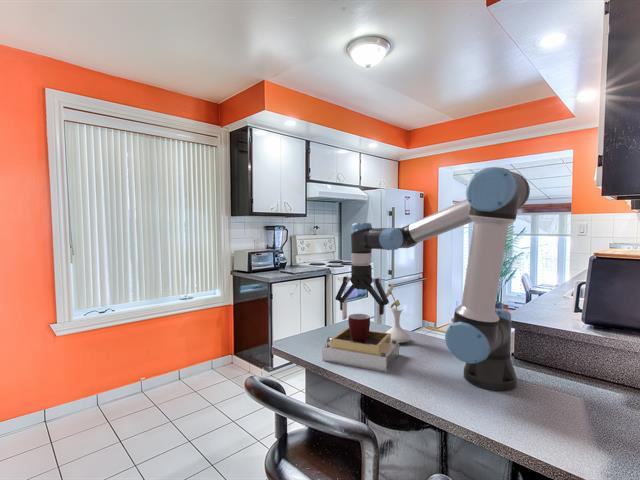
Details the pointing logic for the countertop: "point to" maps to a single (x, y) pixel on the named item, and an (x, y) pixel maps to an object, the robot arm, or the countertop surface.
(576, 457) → the countertop surface
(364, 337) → the mug
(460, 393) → the countertop surface
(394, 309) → the flower in vase
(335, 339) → the gold rimmed tray box
